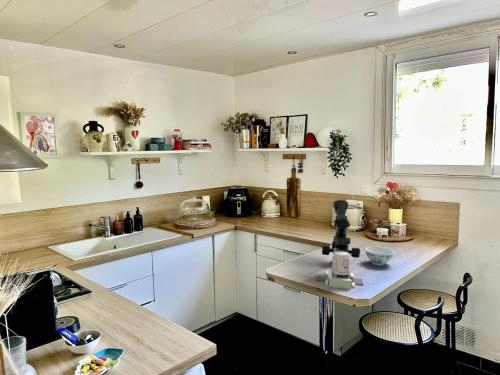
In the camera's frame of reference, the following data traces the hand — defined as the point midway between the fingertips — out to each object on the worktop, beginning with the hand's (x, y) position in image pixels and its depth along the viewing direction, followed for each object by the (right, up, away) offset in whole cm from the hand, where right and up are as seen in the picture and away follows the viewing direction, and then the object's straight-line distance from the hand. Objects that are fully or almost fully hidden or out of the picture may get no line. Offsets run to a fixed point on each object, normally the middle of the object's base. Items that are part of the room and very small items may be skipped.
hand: (340, 266), depth 184 cm
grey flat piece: (-1, -7, -1) cm, 7 cm away
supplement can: (-1, -7, -3) cm, 8 cm away
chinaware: (+28, -4, +26) cm, 38 cm away
